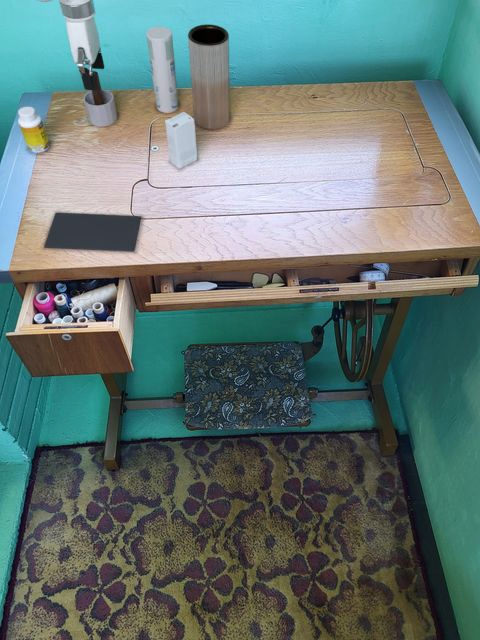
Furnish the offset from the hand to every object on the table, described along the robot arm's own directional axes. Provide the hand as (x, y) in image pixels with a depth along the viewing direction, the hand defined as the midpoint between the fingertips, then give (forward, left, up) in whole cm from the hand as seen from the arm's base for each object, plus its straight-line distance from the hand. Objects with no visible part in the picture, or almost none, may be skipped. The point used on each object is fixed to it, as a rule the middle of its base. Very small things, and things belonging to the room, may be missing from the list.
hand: (95, 78), depth 136 cm
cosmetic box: (+24, -17, -11) cm, 31 cm away
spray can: (+17, +7, -11) cm, 21 cm away
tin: (0, 0, -11) cm, 11 cm away
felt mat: (+6, -44, -11) cm, 46 cm away
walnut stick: (0, 0, -11) cm, 11 cm away
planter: (+30, +2, -11) cm, 32 cm away
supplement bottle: (-14, -14, -11) cm, 23 cm away
